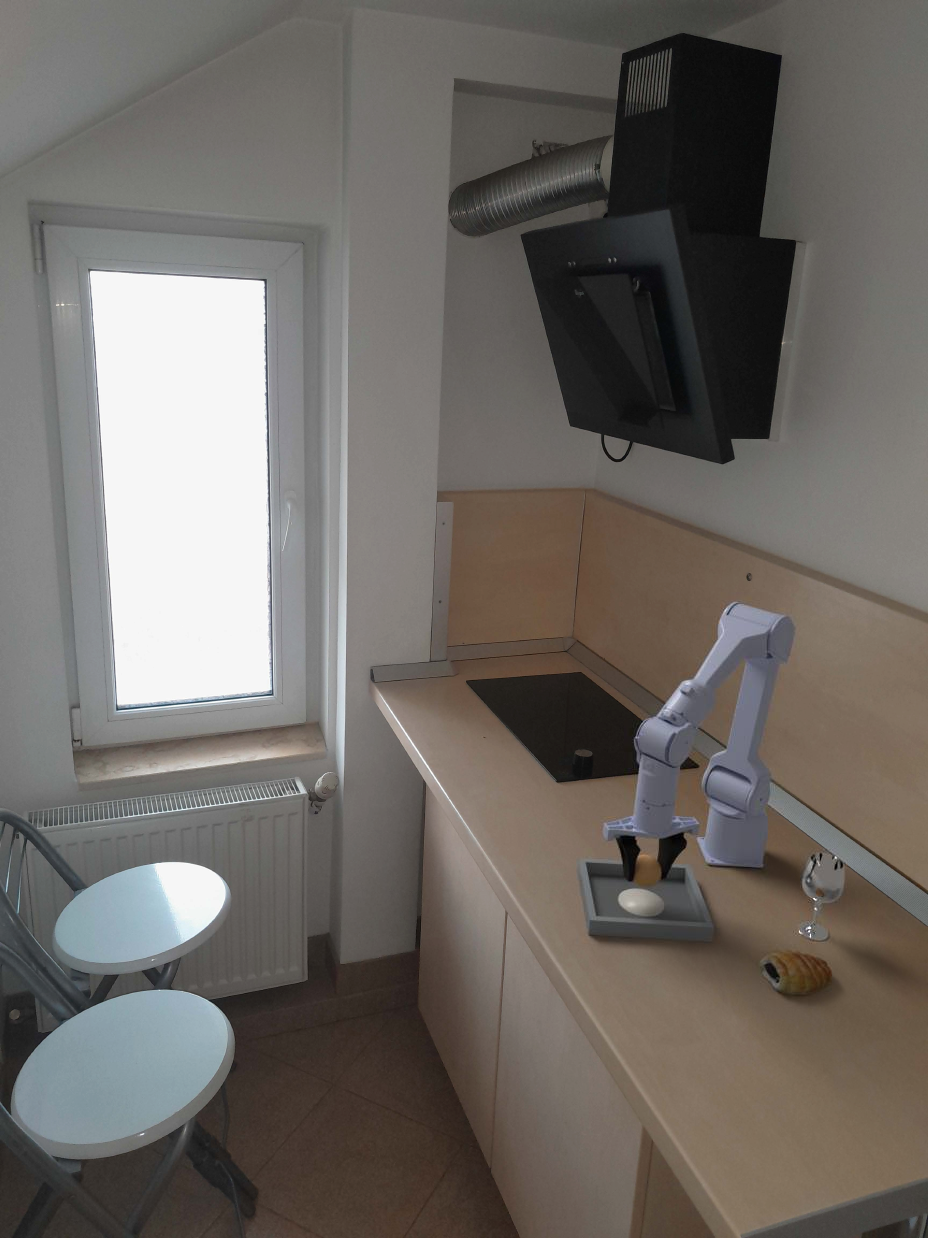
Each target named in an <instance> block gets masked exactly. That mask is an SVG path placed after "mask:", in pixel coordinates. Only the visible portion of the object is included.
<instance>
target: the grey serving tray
mask: <svg viewBox="0 0 928 1238" xmlns="http://www.w3.org/2000/svg"><path fill="white" fill-rule="evenodd" d="M576 871H577V878H578V879H577V880H578V883H579V890H580V895H581V901H582V906H583V913H584V917H585V923H586V929H587V936H601V937H602V936H603V937H604V936H605V937H606V936H607V937H621V938H639V939H655V940H671V941H686V942H687V941H688V942H704V943H705V942H708V943H712V942H713V938H714V933H715V929H716V928H715V925H714V922H713V920H712V918H711V917H712V916H711V915H710V912H709V910H708V907H707V903H706V901H705V899H704V897H703V894H702V892H701V889H700V887H699V884H698V881H697V879H696V877H695V873H694V872H693V869H692V866H691V864H683V863H682V864H681V863H673V864H672V866H671V868H670V870H669V872H668V875H667V877H666V879H661V878H660V880H659V881H658V883H657V884H655V885H654V886H652V887H648V888H645V887H641V886H638V885H637V884H635V883H634V882H628V881H627V879H626V878H625V876H624V874H623V863H622V860H618V859H617V860H616V859H615V860H613V859H612V860H611V859H601V858H600V859H597V858H581V857H579V858H578V861H577V869H576Z"/></svg>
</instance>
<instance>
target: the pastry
mask: <svg viewBox="0 0 928 1238" xmlns="http://www.w3.org/2000/svg"><path fill="white" fill-rule="evenodd" d="M759 967H760V971H761V974H762V975H763V977H764V978H765V979H766V980H767V981H768V982H769V983H771V985H772V986H773V988H774V989H775V990H776V991H778V992H779V993H782V994H785V995H787V996H792V997H796V996H799V995H803V996H805V995H810V994H812V993H815V992H817V991H819V990H820V991H821V990H822V989H824V988H826V987H827V986H828V985H829V984H830V983H831V980H832V977H833V976H832V973H833V972H832V970H831V968H830V967H829V965H828V963H827V961H826V960H824V959H822V958H820V957H818V956H815V955H810V954H809V953H802V952H800V951H798V950H797V951H792V950H790V949H786V950H784V951H780V950H778V949H777V950H774V951H772V952H771V953H770V954H767V955H765V956H764V957H763V958H762V959H760V961H759Z"/></svg>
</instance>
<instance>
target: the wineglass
mask: <svg viewBox="0 0 928 1238" xmlns="http://www.w3.org/2000/svg"><path fill="white" fill-rule="evenodd" d="M845 871H846V870H845V864H844V862H843V861H842V859H840V857H839V858H838V857H837V856H835V855H833V854H831V853H830V854H829V853H826V852H815V853H812V854H811V855H810V857H809V858H808V860H807V862H806V863H805V866H804V868H803V870H802V875H801V885H802V886H801V887H802V889H803V892H804V893H805V894H806V896H807V897H809V898H810V899H812V900H814V901H815V902H814V904H813V905H814V906H813V907H814V914H813V920H812V921H810V920H809V921H807V920H806V921H805V920H804V921H801V922H799V923H797V927H796V929H797V931H798V933H799V934H800V935H801V936H803V937H805V939H810V940H812V941H816V942H817V941H819V942H821V941H826V940H827V939H828V938H829V932H828V929H826V928H825V927H824V926H823V925H820V923H817V920H818V915H819V912H820V911H821V909H822V907H823V906H822V905H823V904H830V903H834V902H835V901H837V900H838V899H840V897H841V895H842V893H843V892H844V888H845V881H846V879H845V877H846V875H845Z"/></svg>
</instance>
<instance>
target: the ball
mask: <svg viewBox="0 0 928 1238" xmlns="http://www.w3.org/2000/svg"><path fill="white" fill-rule="evenodd" d="M661 873H662V871H661V866H660V864H659V862H658V861H657V859H656V858H655V857H654V856H652V855H649V854H639V855H638V858H637V861H636V865H635V873H634V879H633V882H634V883H635V884H637V885H638V886H641V887H645V888H648V887H652V886H654V885H655V884H657V883H658V881H659V880H660V878H661Z"/></svg>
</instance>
